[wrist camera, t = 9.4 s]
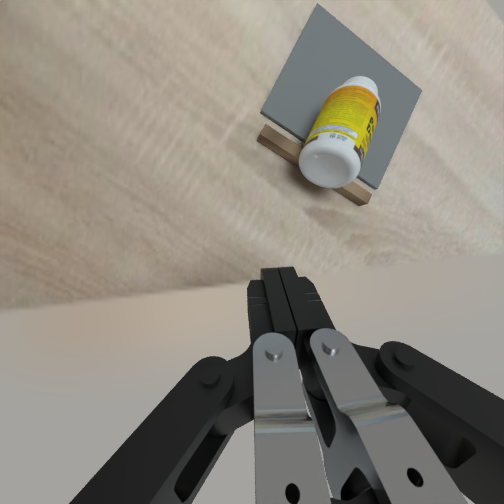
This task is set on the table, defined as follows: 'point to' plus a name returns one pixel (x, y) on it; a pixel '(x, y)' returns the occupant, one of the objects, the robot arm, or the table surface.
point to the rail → (292, 154)
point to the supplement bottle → (341, 134)
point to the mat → (333, 76)
